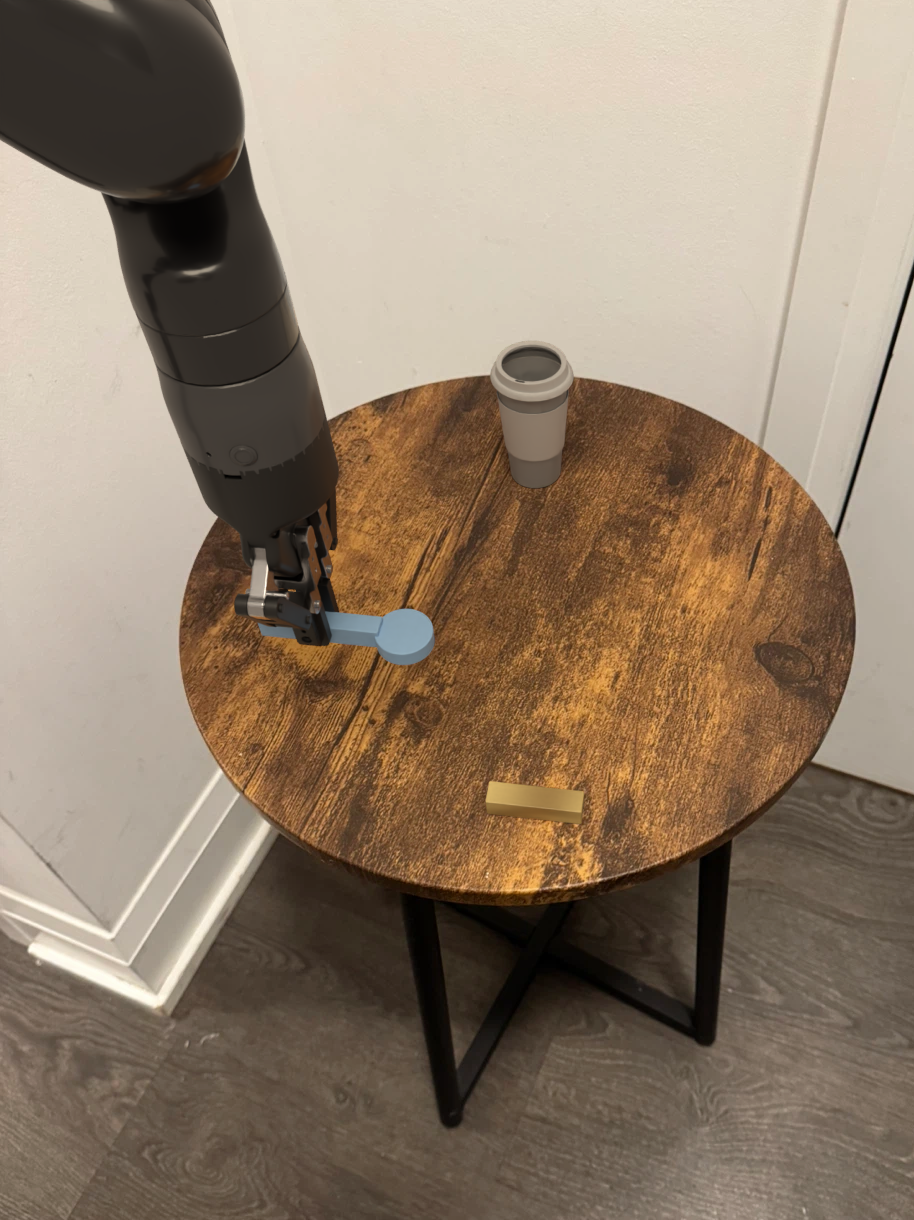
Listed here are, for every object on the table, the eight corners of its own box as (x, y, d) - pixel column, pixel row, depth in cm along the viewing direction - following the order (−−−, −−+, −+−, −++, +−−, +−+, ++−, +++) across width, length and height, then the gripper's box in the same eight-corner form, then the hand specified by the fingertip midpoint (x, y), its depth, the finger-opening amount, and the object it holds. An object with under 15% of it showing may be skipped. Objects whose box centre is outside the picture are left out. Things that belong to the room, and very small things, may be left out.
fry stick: (486, 814, 76) (485, 801, 75) (490, 793, 77) (489, 780, 76) (581, 824, 75) (581, 812, 74) (584, 803, 76) (584, 791, 75)
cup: (487, 486, 96) (476, 377, 86) (513, 440, 99) (506, 330, 89) (559, 503, 94) (557, 395, 84) (583, 456, 97) (584, 346, 88)
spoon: (256, 650, 67) (250, 635, 66) (272, 606, 69) (267, 590, 68) (428, 668, 66) (426, 653, 65) (439, 622, 68) (437, 607, 67)
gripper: (221, 330, 57) (291, 549, 72) (134, 504, 50) (233, 709, 64) (352, 338, 57) (397, 557, 71) (285, 516, 49) (350, 721, 64)
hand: (319, 629), depth 68 cm, fingers closed on spoon, 1 cm apart
